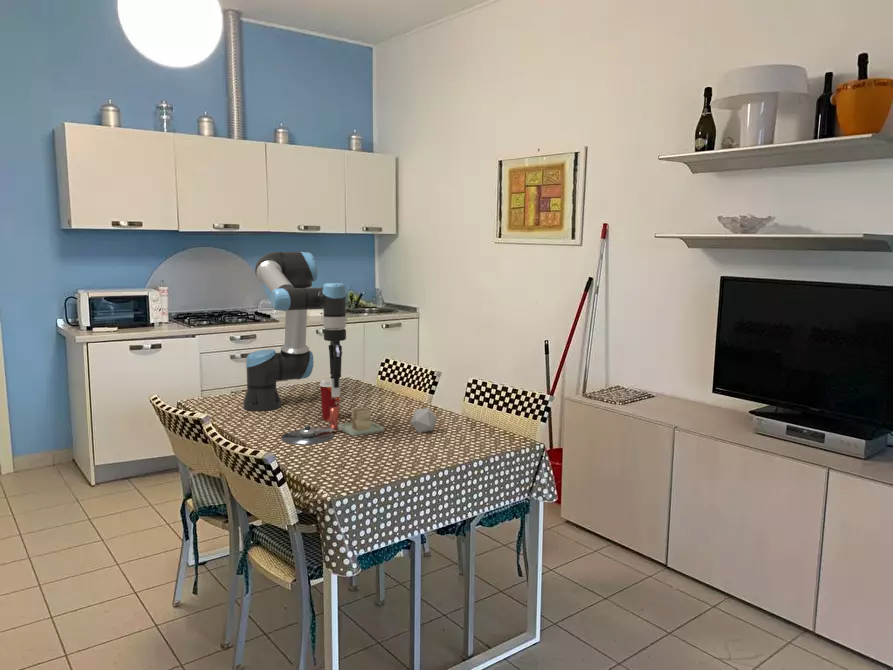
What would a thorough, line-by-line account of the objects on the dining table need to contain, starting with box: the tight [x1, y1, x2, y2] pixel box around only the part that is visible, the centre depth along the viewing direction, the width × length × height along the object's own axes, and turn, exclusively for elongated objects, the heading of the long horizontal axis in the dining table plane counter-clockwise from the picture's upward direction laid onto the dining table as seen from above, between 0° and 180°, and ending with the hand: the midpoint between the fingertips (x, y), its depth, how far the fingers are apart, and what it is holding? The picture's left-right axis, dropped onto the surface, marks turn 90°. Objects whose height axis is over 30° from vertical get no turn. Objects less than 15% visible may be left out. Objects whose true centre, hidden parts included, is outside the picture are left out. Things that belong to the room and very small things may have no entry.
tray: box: [338, 420, 385, 437], centre depth 245 cm, size 13×13×2 cm
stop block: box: [351, 407, 371, 431], centre depth 245 cm, size 5×5×7 cm
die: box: [410, 407, 438, 434], centre depth 244 cm, size 8×9×10 cm
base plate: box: [280, 425, 335, 446], centre depth 235 cm, size 18×18×4 cm
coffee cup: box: [319, 378, 342, 422], centre depth 259 cm, size 8×8×15 cm
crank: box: [299, 407, 339, 437], centre depth 237 cm, size 14×5×9 cm, turn 125°
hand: (335, 396), depth 233 cm, fingers closed
